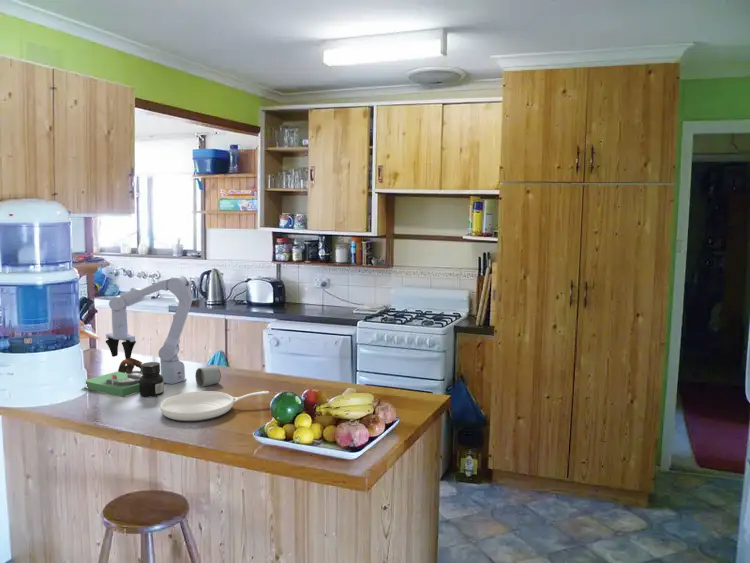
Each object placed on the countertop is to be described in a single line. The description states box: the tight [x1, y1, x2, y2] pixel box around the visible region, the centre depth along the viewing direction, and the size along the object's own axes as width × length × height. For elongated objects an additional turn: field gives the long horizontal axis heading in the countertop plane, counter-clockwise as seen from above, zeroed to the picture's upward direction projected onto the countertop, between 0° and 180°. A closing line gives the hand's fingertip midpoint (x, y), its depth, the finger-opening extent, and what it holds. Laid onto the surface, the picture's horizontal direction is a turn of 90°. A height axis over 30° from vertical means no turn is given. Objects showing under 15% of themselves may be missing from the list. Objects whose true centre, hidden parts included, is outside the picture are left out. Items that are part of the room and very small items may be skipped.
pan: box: [159, 390, 270, 422], centre depth 219 cm, size 25×38×5 cm, turn 111°
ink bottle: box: [139, 361, 165, 398], centre depth 237 cm, size 10×9×12 cm
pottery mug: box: [117, 357, 143, 374], centre depth 267 cm, size 12×10×8 cm
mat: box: [85, 371, 142, 398], centre depth 247 cm, size 24×16×4 cm, turn 60°
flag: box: [111, 374, 117, 387], centre depth 237 cm, size 3×1×8 cm, turn 60°
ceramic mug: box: [195, 366, 222, 388], centre depth 251 cm, size 11×8×8 cm
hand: (121, 357), depth 254 cm, fingers open, 7 cm apart
